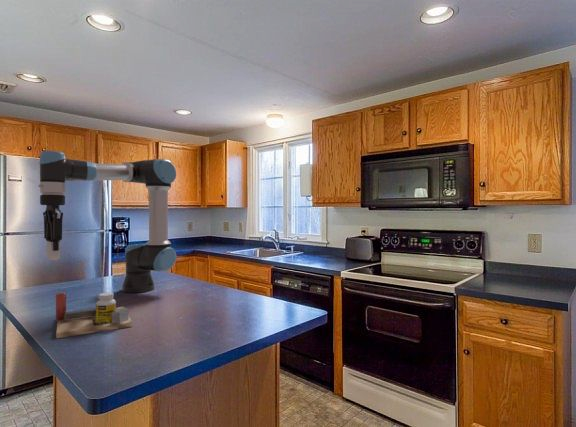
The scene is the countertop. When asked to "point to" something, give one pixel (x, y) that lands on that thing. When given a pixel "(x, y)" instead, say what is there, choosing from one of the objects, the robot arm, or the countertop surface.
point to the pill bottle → (105, 308)
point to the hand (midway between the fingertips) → (53, 259)
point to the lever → (64, 315)
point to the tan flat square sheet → (85, 326)
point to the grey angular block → (120, 316)
